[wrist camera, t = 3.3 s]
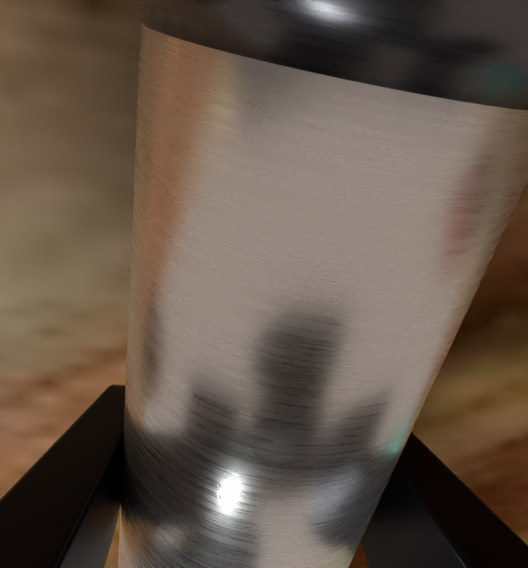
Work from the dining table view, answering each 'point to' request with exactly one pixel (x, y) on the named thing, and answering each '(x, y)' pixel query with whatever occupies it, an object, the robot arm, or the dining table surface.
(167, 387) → the tube
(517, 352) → the dining table surface
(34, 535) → the robot arm
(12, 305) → the dining table surface
